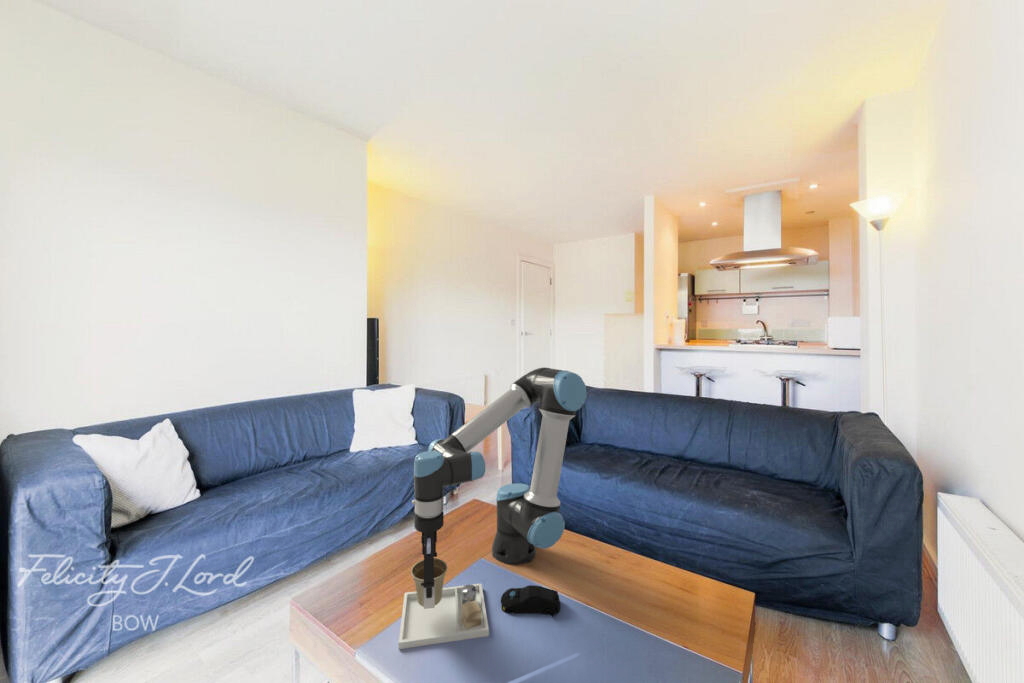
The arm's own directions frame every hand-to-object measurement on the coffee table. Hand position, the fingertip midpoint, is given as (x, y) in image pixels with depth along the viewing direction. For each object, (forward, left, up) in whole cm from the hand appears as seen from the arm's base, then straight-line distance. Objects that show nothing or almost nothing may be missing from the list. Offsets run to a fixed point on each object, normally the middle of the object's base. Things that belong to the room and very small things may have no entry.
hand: (429, 594), depth 107 cm
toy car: (-27, 0, -8) cm, 29 cm away
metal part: (-11, -4, -7) cm, 13 cm away
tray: (-4, 0, -7) cm, 8 cm away
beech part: (-11, +3, -7) cm, 13 cm away
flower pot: (0, 0, -2) cm, 2 cm away
